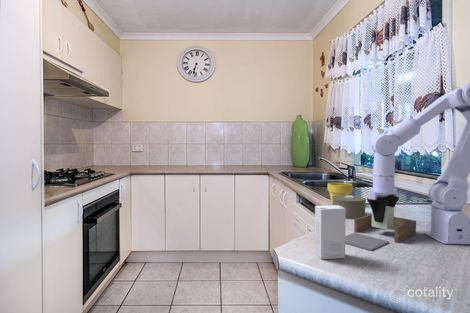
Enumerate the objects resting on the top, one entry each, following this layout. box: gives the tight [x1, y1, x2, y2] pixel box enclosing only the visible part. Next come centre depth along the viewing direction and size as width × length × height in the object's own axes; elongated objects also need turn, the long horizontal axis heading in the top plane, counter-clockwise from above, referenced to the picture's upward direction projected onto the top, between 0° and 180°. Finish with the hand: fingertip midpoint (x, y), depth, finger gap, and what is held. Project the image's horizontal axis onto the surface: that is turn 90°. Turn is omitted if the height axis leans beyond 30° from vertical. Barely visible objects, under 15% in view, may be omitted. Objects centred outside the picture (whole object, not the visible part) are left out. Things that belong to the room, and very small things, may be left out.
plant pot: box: [327, 182, 353, 205], centre depth 128 cm, size 10×10×10 cm
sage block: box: [371, 206, 395, 231], centre depth 87 cm, size 4×4×6 cm
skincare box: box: [314, 204, 346, 260], centre depth 70 cm, size 6×4×12 cm
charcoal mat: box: [345, 232, 390, 252], centre depth 80 cm, size 10×10×1 cm
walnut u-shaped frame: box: [353, 213, 417, 243], centre depth 88 cm, size 13×13×4 cm
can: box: [332, 194, 367, 220], centre depth 110 cm, size 12×12×7 cm
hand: (382, 220), depth 88 cm, fingers closed on sage block, 4 cm apart
